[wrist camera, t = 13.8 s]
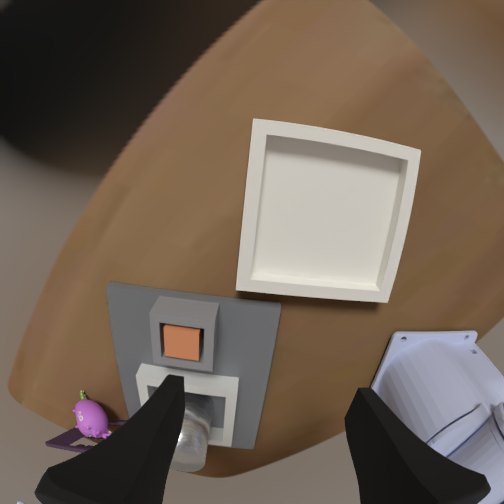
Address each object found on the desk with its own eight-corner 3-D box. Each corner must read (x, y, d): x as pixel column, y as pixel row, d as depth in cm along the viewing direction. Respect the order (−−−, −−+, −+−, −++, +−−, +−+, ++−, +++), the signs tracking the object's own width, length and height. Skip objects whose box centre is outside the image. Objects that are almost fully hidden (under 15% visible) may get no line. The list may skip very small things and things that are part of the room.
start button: (203, 317, 19) (199, 333, 18) (202, 344, 20) (198, 360, 18) (170, 313, 19) (163, 327, 18) (171, 340, 20) (165, 355, 18)
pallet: (280, 302, 20) (283, 326, 18) (253, 443, 26) (253, 467, 23) (110, 281, 20) (91, 301, 17) (135, 425, 26) (127, 446, 23)
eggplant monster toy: (49, 452, 20) (101, 462, 17) (27, 405, 20) (72, 405, 18) (91, 429, 26) (146, 429, 24) (72, 387, 27) (125, 380, 24)
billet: (216, 390, 22) (206, 450, 17) (211, 420, 24) (202, 475, 18) (166, 380, 22) (147, 437, 16) (166, 411, 23) (150, 464, 18)
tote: (410, 149, 17) (421, 150, 15) (380, 293, 20) (387, 302, 19) (253, 120, 17) (253, 118, 15) (237, 280, 20) (235, 290, 19)
